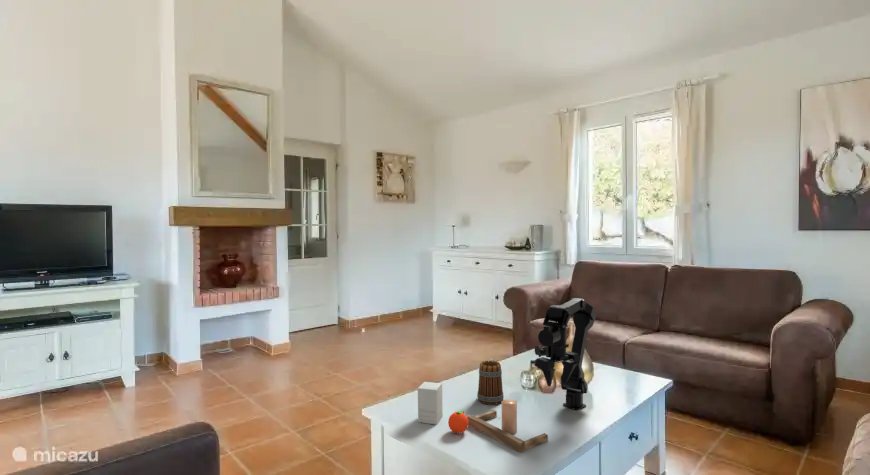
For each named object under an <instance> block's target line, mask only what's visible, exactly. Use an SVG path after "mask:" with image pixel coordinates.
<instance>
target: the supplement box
mask: <svg viewBox="0 0 870 475" xmlns="http://www.w3.org/2000/svg"><path fill="white" fill-rule="evenodd" d="M443 407H444V406H443V383H440V382H429V381H423V382H422V384H420V385H419V386H418V387H417V416H418V417H417V418H418V419H417V421H418V423H421V422H422V423H423V424H429V425H431V424H432V425H438V423H439V422H440V421H441V420H442V418H443V417H444V416H443V415H444V414H443V410H444V409H443Z"/></svg>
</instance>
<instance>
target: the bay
mask: <svg viewBox="0 0 870 475" xmlns="http://www.w3.org/2000/svg"><path fill="white" fill-rule="evenodd" d="M497 414H498V413H497V410H495V409H492V410H489V411H485V412H484V413H480V414H478V415H473V414H469V415H466V416H467V418H468V426H470V427H471V428H473V429H475V430H477V431H479V432H481V433H483V434H484V435H486V436H488V437H489V438H492V439H494V440H495V441H498V442H499V443H502V444H504V446H505V445H506V446H508V447H509V448H511V449H513V450H515V451H517V452H519V453H522V452H525V451H527V450H530V449H531V448H534V447H536V446H539V445H542V444H544V443H545V442H548V440H549V435H548V434H547V433H545V432H544V433H540V434H538V435H536V436H534V437H531V438H528V439H526V440H523V439H521V438H519V437H517V436H515V435H514V434H509V433H507V432H505V431H503V430H502V428H499V427H496V426H495V425H493V424H492V423H489V422H487V421H488V420H491V419H494V418H497V416H498V415H497Z"/></svg>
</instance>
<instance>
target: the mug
mask: <svg viewBox="0 0 870 475" xmlns="http://www.w3.org/2000/svg"><path fill="white" fill-rule="evenodd" d="M501 367H502V365H501V363H500V362H499V361H498V362H497V361H496V360H495V358H491V357H490V358H489V360H485V361H484V360H483V361H481V362H480V364H479V368H478V387H477V388H478V391H477V400H478V401H479V402H480V403H481V404H484V405H487V406H488V405H491V406H493V405H499V404H502V401H503V400H504V391H503V378H502V377H503V376H502V375H503V373H502V372H503V370H502V368H501Z"/></svg>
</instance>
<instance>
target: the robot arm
mask: <svg viewBox="0 0 870 475" xmlns="http://www.w3.org/2000/svg"><path fill="white" fill-rule="evenodd" d="M571 316H572V322H573V323H574V326H575V330H574V334H573V341H572V345H571V346H572V347H571V350H570V351H569V350H568V351H567V348H569V346H570V344H569V343H567V328H568V326H569V325H568V324H569V321H570V319H571ZM596 319H597V313H596V310H595V309H594V307H593V306H592V305H590V304H589V303H587V301H586V299H584V298H578V297H573V298H571V299H570V300H568V301H567V302H564V303H563V304H559V305H557V304H556V305H555V304H553V305H550V306H548V308H547V310H546V313H545V316H544V318H543V323H542V325H543V329H542V330H540V331H539V333H538V334H537V339H538V342H539V343H540V344H541V345H537V346H536V345H535V346H534V354H535V355H536V356H538V357H537V358H536V359H535V360H534V367H536V368H537V369H539V370H541V371H542V373H543V376H544V378H545V382H546V384H547V386H548V387H552V383H553V379H554V374H555V371H556V369H555V364H558V363H561V364H562V366H563V367H562V372H561V376H560V385H561V390H564V391H565V402H564V403H562V405H563V406H564V407H567V408H570V409H572V410H575V411H578V410H580V409H583V408H586V407H587V404H585V403H584V394H587V393H588V389H589V387H588V386H589V385H588V383H587V382H586V379H585V372H584V370H583V367H582V366H583V360H584V354H585V348H586V344H587V339H588V332H589V330H591V328H592V327H593V326H594V324H595V320H596Z"/></svg>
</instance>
